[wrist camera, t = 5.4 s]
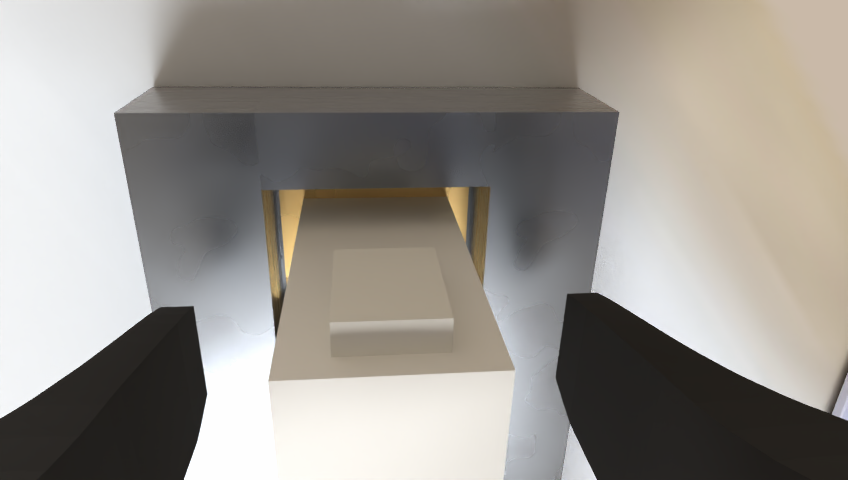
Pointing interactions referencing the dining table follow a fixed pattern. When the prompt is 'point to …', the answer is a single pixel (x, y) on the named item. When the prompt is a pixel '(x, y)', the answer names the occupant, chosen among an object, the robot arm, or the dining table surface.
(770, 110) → the dining table surface
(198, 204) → the grey slotted board
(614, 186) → the dining table surface
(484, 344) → the plug
